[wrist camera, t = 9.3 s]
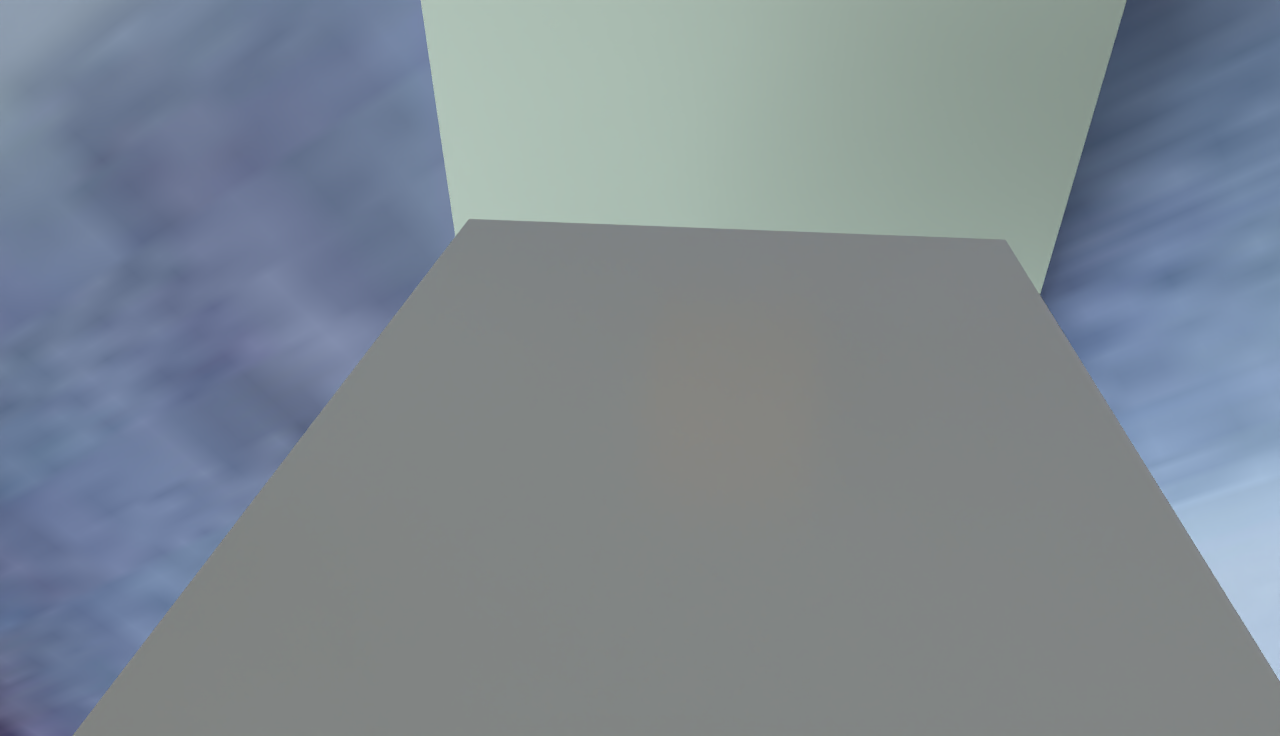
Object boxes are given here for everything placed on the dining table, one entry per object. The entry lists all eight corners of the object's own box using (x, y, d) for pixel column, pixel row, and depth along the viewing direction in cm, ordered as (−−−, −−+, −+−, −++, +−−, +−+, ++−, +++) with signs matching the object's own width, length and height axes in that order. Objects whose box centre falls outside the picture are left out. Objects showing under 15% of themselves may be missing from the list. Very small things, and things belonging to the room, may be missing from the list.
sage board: (1107, -8, 16) (1126, 0, 15) (984, 430, 22) (993, 452, 21) (436, -13, 18) (419, -6, 17) (491, 396, 24) (481, 416, 23)
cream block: (1005, 239, 10) (1483, 1007, 3) (909, 609, 14) (1045, 1305, 7) (469, 218, 11) (11, 813, 4) (518, 574, 15) (321, 1177, 8)
